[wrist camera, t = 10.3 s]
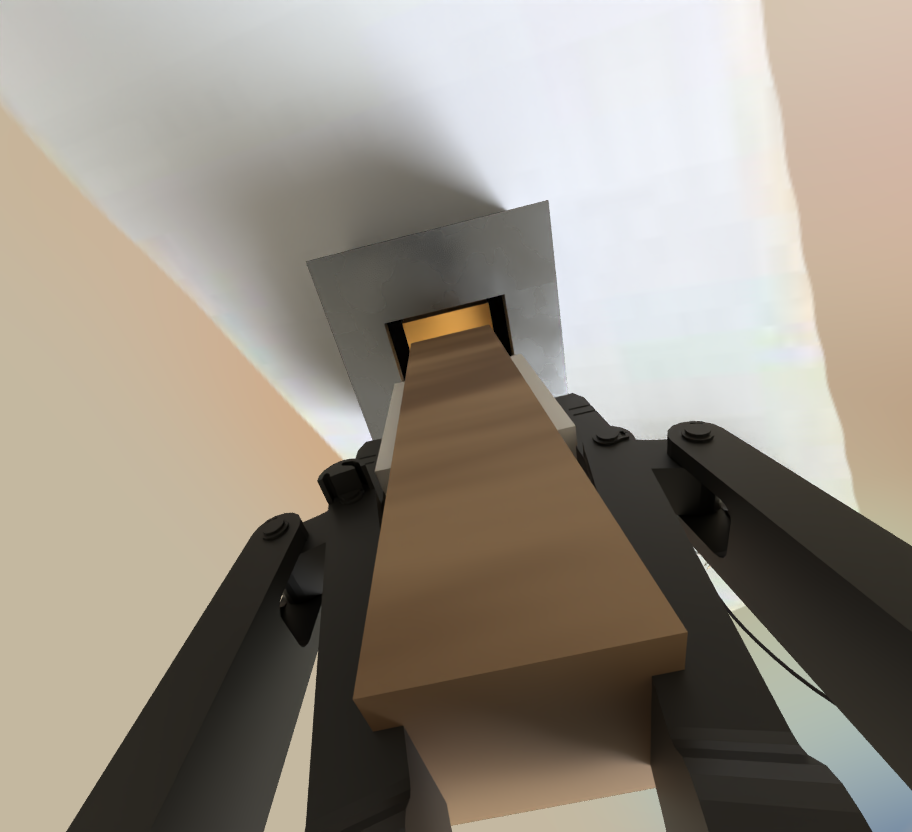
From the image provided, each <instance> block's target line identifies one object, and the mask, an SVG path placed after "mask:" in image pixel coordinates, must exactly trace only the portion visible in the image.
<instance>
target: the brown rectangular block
mask: <svg viewBox="0 0 912 832" xmlns="http://www.w3.org/2000/svg"><path fill="white" fill-rule="evenodd" d="M687 635H688V632H687V630H686V629H685V627H684V625H683V624H682V622H681V621H680V619H679V618H678V616H677V615H676V613H675V612H674V610H673V608H672V607H671V605H670V604H669V602H668V601H667V599H666V598H665V596H664V594H663V593H662V591H661V590H660V588H659V587H658V585H657V584H656V582H655V581H654V579H653V577H652V576H651V574H650V573H649V571H648V570H647V568H646V567H645V565H644V563H643V562H642V560H641V559H640V557H639V556H638V554H637V553H636V551H635V550H634V548H633V546H632V545H631V543H630V542H629V540H628V539H627V537H626V536H625V534H624V532H623V531H622V529H621V528H620V526H619V525H618V523H617V522H616V520H615V519H614V517H613V515H612V514H611V512H610V511H609V509H608V508H607V506H606V505H605V503H604V502H603V500H602V498H601V497H600V495H599V494H598V492H597V491H596V489H595V488H594V486H593V484H592V483H591V481H590V480H589V478H588V477H587V475H586V474H585V472H584V471H583V469H582V467H581V466H580V464H579V463H578V461H577V460H576V458H575V457H574V455H573V453H572V452H571V450H570V449H569V447H568V446H567V444H566V443H565V441H564V440H563V438H562V436H561V435H560V433H559V432H558V430H557V429H556V427H555V426H554V424H553V422H552V421H551V419H550V418H549V416H548V415H547V413H546V412H545V410H544V409H543V407H542V405H541V404H540V402H539V401H538V399H537V398H536V396H535V395H534V393H533V392H532V390H531V388H530V387H529V385H528V384H527V382H526V381H525V379H524V378H523V376H522V374H521V373H520V371H519V370H518V368H517V367H516V365H515V364H514V362H513V361H512V359H511V357H510V356H509V354H508V353H507V351H506V350H505V348H504V347H503V345H502V343H501V342H500V340H499V339H498V337H497V336H496V334H495V333H494V331H493V330H492V328H491V326H490V325H485V326H481V327H476V328H472V329H468V330H464V331H460V332H456V333H452V334H447V335H443V336H439V337H435V338H431V339H427V340H423V341H418V342H414V343H411V347H410V353H409V359H408V365H407V371H406V377H405V384H404V390H403V396H402V402H401V408H400V414H399V420H398V426H397V432H396V438H395V445H394V451H393V457H392V463H391V469H390V475H389V481H388V487H387V493H386V499H385V506H384V512H383V518H382V524H381V530H380V536H379V542H378V548H377V554H376V560H375V567H374V573H373V579H372V585H371V591H370V597H369V603H368V609H367V615H366V621H365V628H364V634H363V640H362V646H361V652H360V658H359V664H358V670H357V676H356V683H355V689H354V695H353V701H354V702H355V704H356V706H357V707H358V709H359V710H360V712H361V713H362V715H363V717H364V718H365V720H366V721H367V723H368V724H369V726H370V728H371V729H372V731H379V730H384V729H389V728H394V727H399V726H404V728H405V729H406V731H407V733H408V735H409V736H410V738H411V740H412V742H413V744H414V745H415V747H416V749H417V751H418V753H419V754H420V756H421V758H422V760H423V762H424V763H425V765H426V767H427V769H428V771H429V772H430V774H431V776H432V778H433V780H434V781H435V783H436V785H437V787H438V789H439V790H440V792H441V794H442V796H443V798H444V799H445V801H446V803H447V807H448V813H449V818H450V824H451V826H452V825H458V824H463V823H469V822H474V821H479V820H484V819H490V818H495V817H501V816H506V815H512V814H517V813H522V812H528V811H533V810H538V809H544V808H550V807H555V806H560V805H566V804H571V803H577V802H581V801H587V800H593V799H597V798H604V797H609V796H614V795H620V794H625V793H631V792H635V791H641V790H646V789H652V788H656V786H655V782H654V778H653V773H652V769H651V765H650V759H651V700H652V676H654V675H659V674H665V673H670V672H675V671H680V670H685V658H686V646H687Z"/></svg>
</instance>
